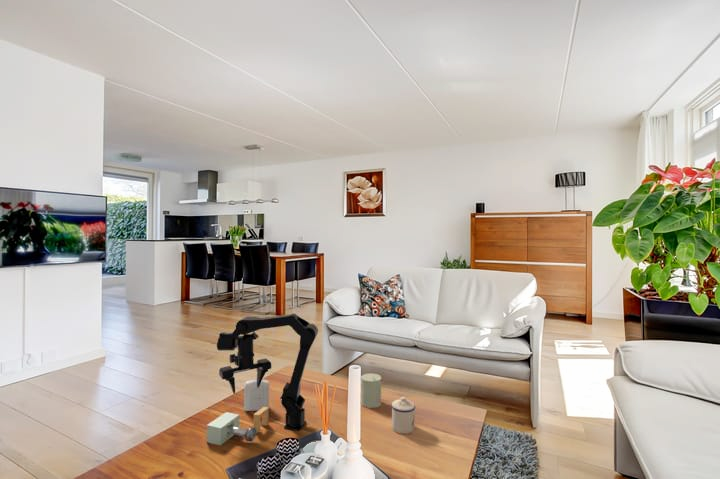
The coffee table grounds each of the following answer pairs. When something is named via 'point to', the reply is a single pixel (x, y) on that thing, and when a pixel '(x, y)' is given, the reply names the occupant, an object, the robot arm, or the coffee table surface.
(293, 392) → the robot arm
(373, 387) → the can
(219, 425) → the block
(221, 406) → the coffee table surface
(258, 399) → the photo printer
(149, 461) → the coffee table surface
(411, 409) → the teacup with lid
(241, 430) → the pin
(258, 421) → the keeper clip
